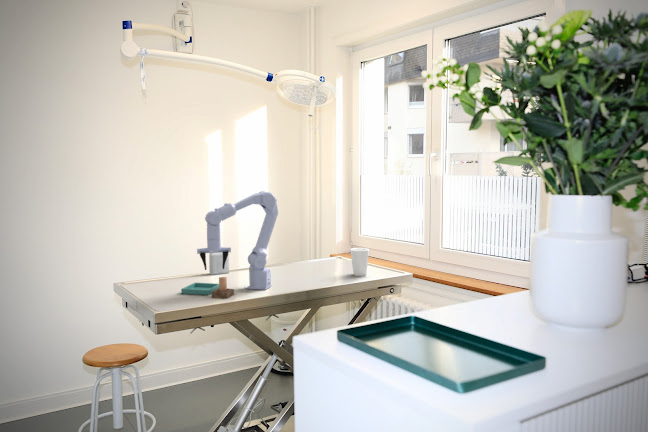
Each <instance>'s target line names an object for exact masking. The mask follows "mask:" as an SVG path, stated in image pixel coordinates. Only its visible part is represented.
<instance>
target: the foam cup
mask: <svg viewBox="0 0 648 432" xmlns="http://www.w3.org/2000/svg"><path fill="white" fill-rule="evenodd" d="M369 255H370V249H369V248H366V247H354V248H350V257H351V266H352V274H353V275H354V276H357V277H364V276H366V275H367V272H368V271H367V269H368V265H369V264H368V263H369Z"/></svg>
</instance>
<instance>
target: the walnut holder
mask: <svg viewBox="0 0 648 432" xmlns="http://www.w3.org/2000/svg"><path fill="white" fill-rule="evenodd" d="M234 295H235V289H234V288H227V291H226V292H221V291H219V288H218V289H216V290H214V291H213V292H212V294H211V297H212V298H215V299H229V298H231V297H232V296H234Z"/></svg>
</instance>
